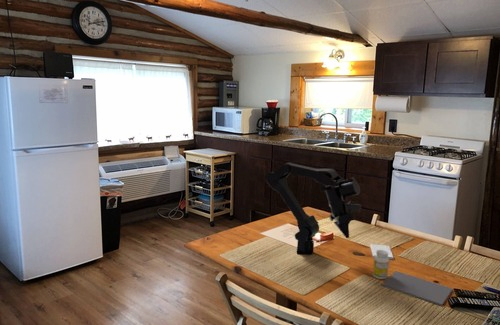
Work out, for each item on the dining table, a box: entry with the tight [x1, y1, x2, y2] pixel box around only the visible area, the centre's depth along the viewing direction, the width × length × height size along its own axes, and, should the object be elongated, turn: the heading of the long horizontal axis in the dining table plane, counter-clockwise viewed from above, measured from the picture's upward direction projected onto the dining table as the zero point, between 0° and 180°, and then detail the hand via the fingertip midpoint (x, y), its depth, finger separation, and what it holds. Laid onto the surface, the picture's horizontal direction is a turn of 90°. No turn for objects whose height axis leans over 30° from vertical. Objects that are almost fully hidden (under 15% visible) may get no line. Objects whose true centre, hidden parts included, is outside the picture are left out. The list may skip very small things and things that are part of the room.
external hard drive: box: [369, 243, 395, 260], centre depth 167 cm, size 2×8×12 cm
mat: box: [380, 270, 453, 307], centre depth 137 cm, size 20×14×1 cm
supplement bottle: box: [372, 250, 390, 280], centre depth 144 cm, size 5×5×10 cm
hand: (347, 237), depth 153 cm, fingers closed
